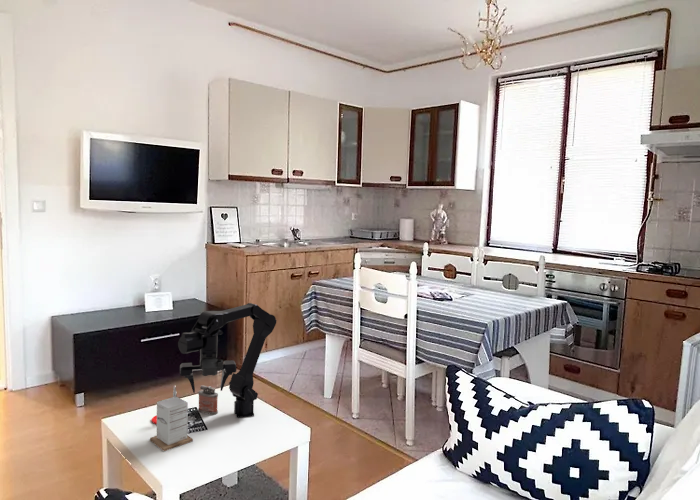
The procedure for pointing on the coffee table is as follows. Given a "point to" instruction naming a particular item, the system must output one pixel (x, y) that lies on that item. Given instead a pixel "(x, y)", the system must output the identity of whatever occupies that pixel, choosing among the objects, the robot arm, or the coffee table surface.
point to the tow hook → (154, 419)
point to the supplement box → (172, 420)
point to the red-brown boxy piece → (208, 400)
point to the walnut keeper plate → (167, 447)
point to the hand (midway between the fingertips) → (207, 391)
